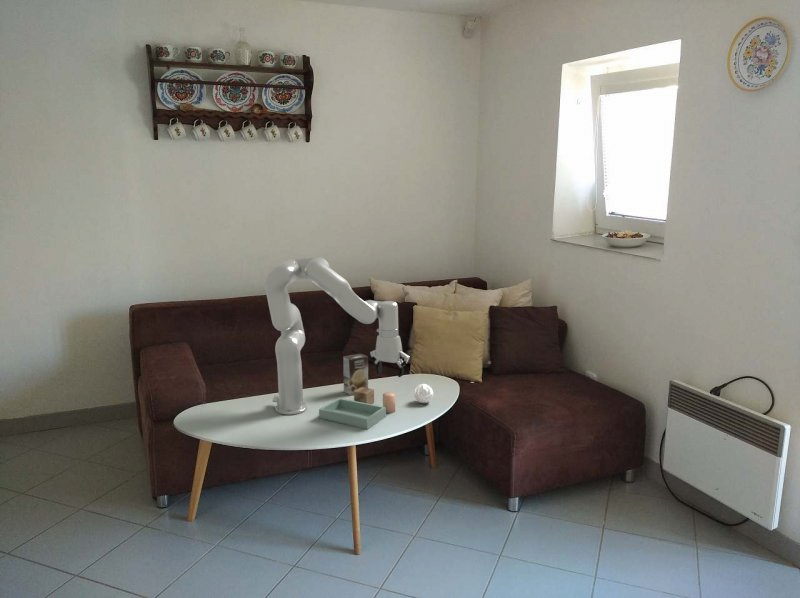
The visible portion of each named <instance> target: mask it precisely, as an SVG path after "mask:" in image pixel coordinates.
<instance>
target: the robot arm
mask: <svg viewBox="0 0 800 598" xmlns="http://www.w3.org/2000/svg"><path fill="white" fill-rule="evenodd" d="M299 280H309V281H310V282H312V283H313V284H315V285H316V286H317V287H318V288H319V289H320V290H322V291H324V292H325V293H326V294H328V295H329V296H330V297H331V298H333V300H335V301H336V303H337V304H338V305H340V307H341V308H342V309H343V310H344V311H345V312H346V313H348V314H349V315H350V316H352V317H353V318H354V319H356V320H357V321H358V322H359V323H362V324H364V325H366V324H367V325H369V324H372V323H374V322H375V321H376V319H378V328H377V329H376V332H377V333H378V335H377V337H376V344H375V349H374V350H372V351H370V352H369V354H370V357H371V360H373V361H374V364H375V371H376V374H377V375H379V374H381V373H382V372H383V363H382V362H385V363H392V364H395V363H396V364H397V366H398V367H397V377H398V378H401V377H402V376H404V373H405V370H404V368H405V367H404V366H406V364H408V362H409V360H410V356H409V355H408V354H407V353H405V352H403V346H402V341H401V336H400V335H399V306H398V303H397V301H393V300H384V301H380V300H379V301H378V300H371V299H368V300H365V301H364V300H363V299H362V298H360V297H359V295H357V294H356V292H354V290H353V289H352V287H351V285H350V283H349V282H348V280H347V279H345V278H344V277H343V276H341V275H340V274H338V273H337V272H336V271H335V270H333V269H332V268H331V266H330V264H329V262H328V261H327V260H326V259H325V258H323V257H307V258H306V257H305V258H295V259H294V258H293V259H287V260H285V261H283V262H281V263H280V264H278V265H276V266H275V267H274V268H272V270H271V271H269V272H268V274H267V276H266V278H265V282H264V289H265V295H266V298H267V299H266V300H267V303H268V308H269V314H270V319H271V322H272V326H273V327H274V329H276V330H277V331H280V337H278V339H277V340H276V342H275V346H274V348H275V349H274V351H275V358H276V367H277V368H276V369H277V385H278V387H277V388H278V389H277V390H278V395H274V396H273V399H272V402H273V403H276V406H275V412H276V413H278V414H281V415H289V416H290V415H298V414H302V413H304V412H305V411H307V409H308V405H307V403H305V402H304V397H303V396H304V393H303V370H302V369H303V368H302V367H303V365H302V358H301V350H302V349H303V347H304V345H305V344H306V343H305V342H306V336H305V335H306V334H305V329H304V326H303V320H302V316H301V312H300V310H299V308H298V307H297V306H296V305H295V304H294V303H291V299H290V298H291V296H290V293H289V292H288V286H289V285H291V284H292V283H294V282H295V281H299ZM403 359H404V360H403Z"/></svg>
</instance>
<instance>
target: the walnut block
mask: <svg viewBox="0 0 800 598" xmlns="http://www.w3.org/2000/svg"><path fill="white" fill-rule="evenodd" d="M353 401H357V402H362V403H367V404H372V405H374V404H375V389H373V388H369V387H368V388H364V387H361V388H359V389H357V390H356V391H354V395H353Z"/></svg>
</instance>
